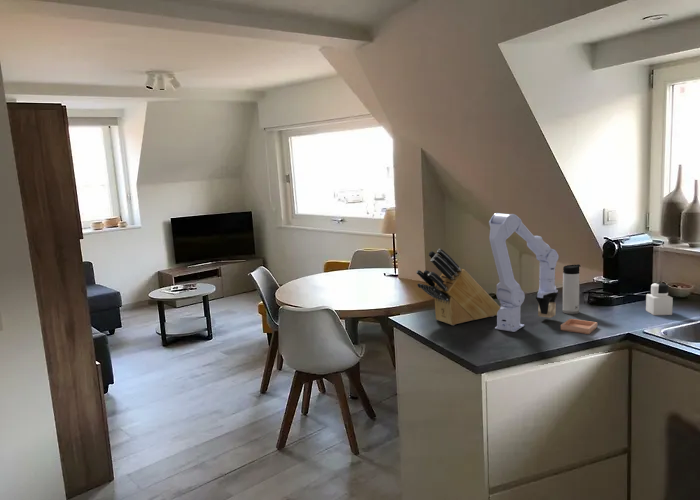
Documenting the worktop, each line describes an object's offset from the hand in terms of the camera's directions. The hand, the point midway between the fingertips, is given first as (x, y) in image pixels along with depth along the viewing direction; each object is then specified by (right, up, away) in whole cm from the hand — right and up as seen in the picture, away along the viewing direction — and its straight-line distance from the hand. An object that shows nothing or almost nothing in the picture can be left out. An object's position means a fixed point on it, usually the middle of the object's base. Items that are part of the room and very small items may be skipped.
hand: (546, 312), depth 215 cm
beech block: (0, -1, 0) cm, 1 cm away
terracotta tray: (+8, -5, -12) cm, 15 cm away
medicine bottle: (+46, -1, +3) cm, 46 cm away
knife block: (-33, -4, +7) cm, 34 cm away
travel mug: (+14, -1, +10) cm, 17 cm away
